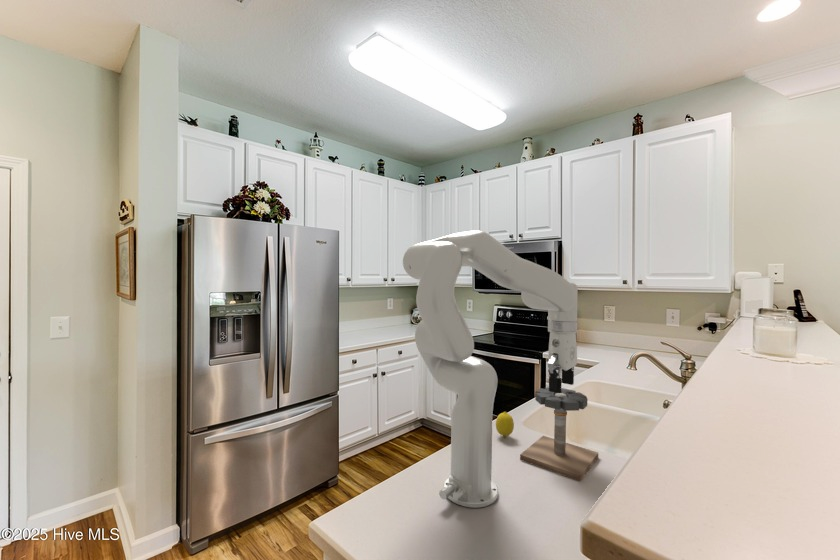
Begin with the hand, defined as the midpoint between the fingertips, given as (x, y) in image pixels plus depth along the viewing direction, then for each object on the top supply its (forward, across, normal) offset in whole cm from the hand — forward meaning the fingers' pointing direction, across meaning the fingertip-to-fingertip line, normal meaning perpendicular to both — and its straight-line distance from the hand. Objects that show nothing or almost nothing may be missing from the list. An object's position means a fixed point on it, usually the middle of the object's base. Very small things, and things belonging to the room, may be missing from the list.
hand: (561, 387), depth 102 cm
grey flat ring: (+4, 0, 0) cm, 4 cm away
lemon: (+20, +2, +18) cm, 27 cm away
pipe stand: (+20, 0, 0) cm, 20 cm away
